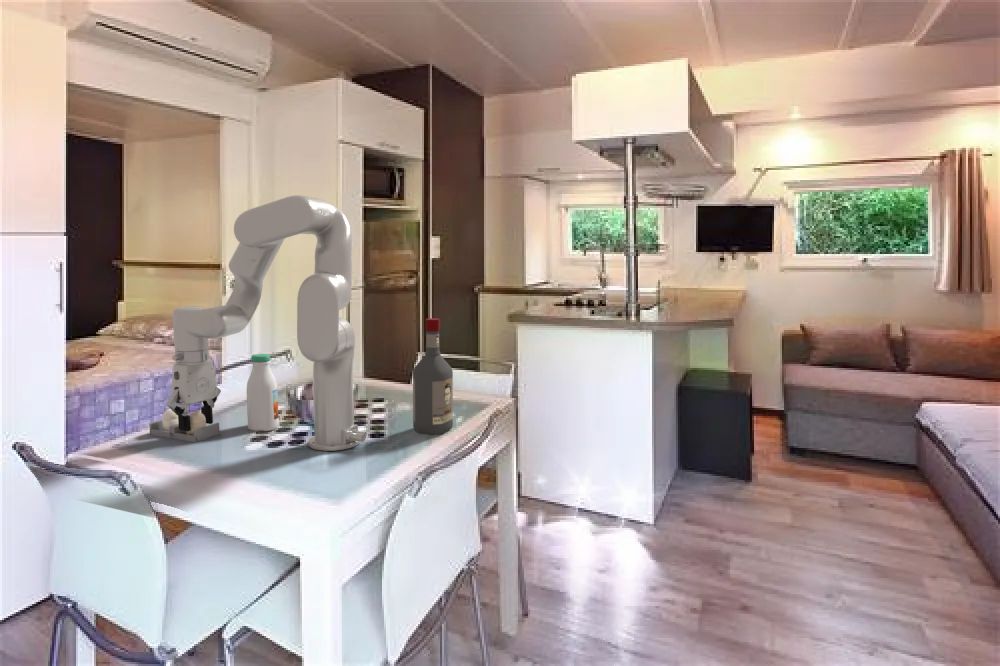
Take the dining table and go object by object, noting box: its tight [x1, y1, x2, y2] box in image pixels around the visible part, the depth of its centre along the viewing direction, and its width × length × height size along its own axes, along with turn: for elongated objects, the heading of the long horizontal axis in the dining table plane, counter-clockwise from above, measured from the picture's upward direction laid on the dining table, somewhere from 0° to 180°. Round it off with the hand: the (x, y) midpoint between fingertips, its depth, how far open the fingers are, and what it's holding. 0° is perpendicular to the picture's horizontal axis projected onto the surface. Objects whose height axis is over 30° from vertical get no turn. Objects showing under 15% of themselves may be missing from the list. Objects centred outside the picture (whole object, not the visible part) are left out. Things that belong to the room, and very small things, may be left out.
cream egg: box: [161, 408, 179, 432], centre depth 156 cm, size 5×5×6 cm
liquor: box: [412, 317, 454, 436], centre depth 162 cm, size 9×9×30 cm
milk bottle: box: [246, 353, 280, 432], centre depth 162 cm, size 8×8×20 cm
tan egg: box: [186, 411, 207, 436], centre depth 153 cm, size 5×5×6 cm
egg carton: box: [148, 419, 220, 443], centre depth 155 cm, size 15×7×4 cm, turn 69°
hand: (196, 426), depth 154 cm, fingers open, 6 cm apart
